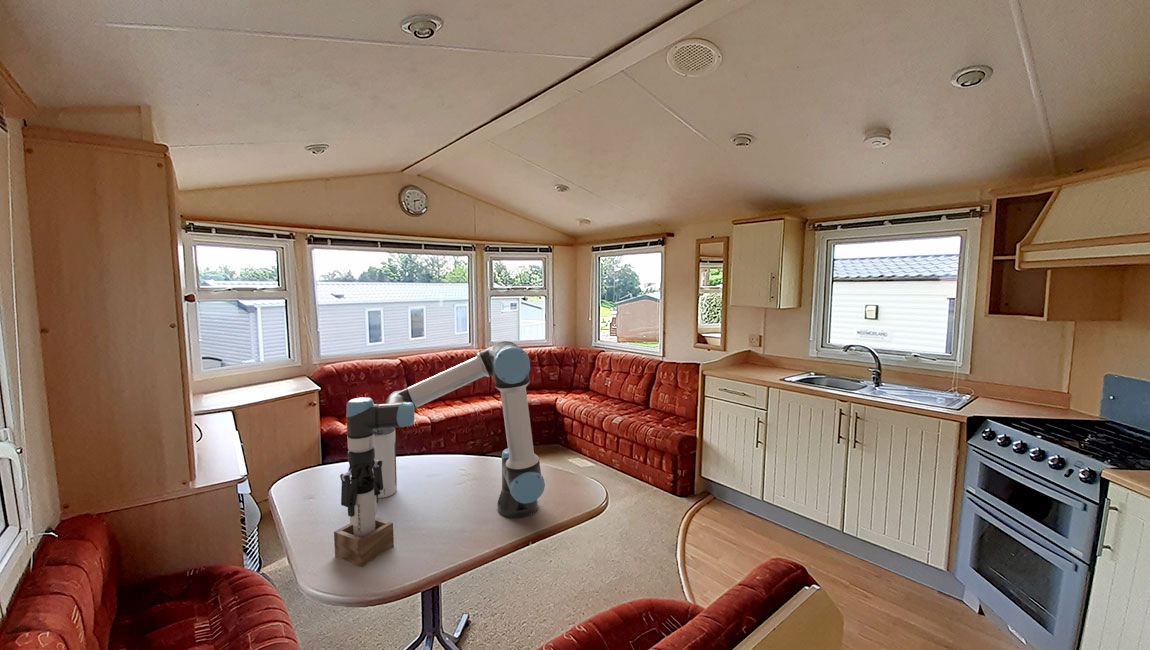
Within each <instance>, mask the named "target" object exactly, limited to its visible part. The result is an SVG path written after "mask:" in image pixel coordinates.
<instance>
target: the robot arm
mask: <svg viewBox="0 0 1150 650" xmlns="http://www.w3.org/2000/svg"><path fill="white" fill-rule="evenodd" d="M530 370H531V362H530V357H529V355H528V354H527V352H526V351H525V350H524V349H523V348H522V347H521V346H518V345H517V344H516V343H514V342H512V341H506V340H505V341H499V342H497V343H495V344H493V345H490V346H489V347H487V348H484V349H483V350H481V351H478V352H477V353H476V355H475V357H472V358H470V359H468V360H466V361H464V362H461V363H459V364H457V365H455V366H453V367H450V368H447V369H446V370H444V371H441V372H439V373H437V374H435V375H433V376H430V377H429V378H426V379H423V380H422V381H419V382H417V383H415V384H413V385H411V386H408V387H406V388H403V389H402V390H395V391H393V392H392V393H390V394H389V395H388V396H387V397H386V400H385V403H374V399H373V398H371V397H356V398H351V399H350V400H348V401H347V402H346V413H345V414H346V415H345V419H346V432H347V433H346V434H347V436H346V438H347V450H348V451H347V461H348V465H349V467H348V471H347V472H345V473H341V474H340V475H339V476H340V481H341V488H340V489H341V492H340V494H341V495H340V497H341V498H340V505H341V506H343V507H345V508H347V515H348V517H349V523H350V524H351V525H354V526H358V505H356V504H355V503H356V499H357V494H358V491H357V486H359V485H360V483H361V482H362V479H363V478H364V477H365V479H368V480H372V479H373V480H374V501H375V517H377V515H378V506H377V505H378V503H379V498H378V495H380V493H381V492H379V491H380V490H383V479H382V469H381V467H382V461H381V460H377V459H375V460H374V458H375V448H374V445H375V442H374V429H379V428H405V427H409V426H413V425H414V423H415V409H417V408H419V407H421V406H423V405H425V404H428V403H430V402H432V401H434V400H436V399H439V398H440V397H443V396H445V395H446V394H449V393H451V392H453V391H456V390H458V389H460V388H463V387H464V386H466V385H469V384H470V383H472V382H475V381H477V380H479V379H481V378H483V377H487V378H490V377H492V376H493V380H494V387H495V389H497V390H498V391H499V392H500V397H501V399H500V400H501V405H502V414H503V419H504V420H503V421H504V428H505V436H506V442H507V448H505V449H504V450H502V453H501V491H500V494H499V497H498V500H497V505H496V506H497V512H498V513H499V515H501V516H504V517H507V518H514V519H515V518H517V519H519V518H524V516H525V517H528V516H530V515H529V514H531V513H532V514H534V513H535V512H536V511H537V510H538V508H537V506H538V505H539V504H538V503H539V502H538V499H539V498H540V497H541V496H542V495H543V494H544V491H545V487H546V482H545V479H544V476H543V475H542V472H541V471H542V469H541V463H540V457H539V456H538V455H537V454H536V453H535V452H534V442H533V434H532V426H531V418H530V409H529V401H528V395H527V387H528V386H529V384H530V382H531V381H530V374H529V373H530ZM372 468H373V471H372ZM373 473H374V474H373ZM373 476H374V477H373ZM357 479H358V480H357ZM536 509H537V510H536ZM535 510H536V511H535ZM534 511H535V512H534ZM533 512H534V513H533ZM532 514H531V515H532ZM527 515H528V516H527Z"/></svg>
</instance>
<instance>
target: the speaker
mask: <svg viewBox="0 0 1150 650" xmlns="http://www.w3.org/2000/svg"><path fill="white" fill-rule="evenodd" d="M374 442H375V445H374V448H375V458H374V460H375V459H377V460H381V461H382V467H381V469H382V479H383V490H380V491H379V492H381V493H380V495H378V499H383V498H388V497H391V496H393V495H395V494H396V493H397V491H398V485H397V483H398V482H397V451H396V450H397V448H396V447H397V446H396V445H397V444H396V443H397V442H396V429H395V427H393V428H379V429H374ZM372 471H373V468H372ZM373 474H374V473H373ZM373 477H374V476H373Z"/></svg>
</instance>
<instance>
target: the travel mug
mask: <svg viewBox="0 0 1150 650" xmlns="http://www.w3.org/2000/svg"><path fill="white" fill-rule="evenodd" d="M357 480H358V479H357ZM357 491H358V494H357V499H356V503H355V504H356V505H358V526H354V525H353V531H354V535H355V536H358V537H360V538H363V537H364V536H366V535H368V534H370V533H371V532H373V531H375V517H376V516H375V501H374V480H373V479H372V480H368V479H365V477H364V478H363V479H362V482H361V483H360V485H359V486H357Z"/></svg>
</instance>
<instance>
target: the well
mask: <svg viewBox="0 0 1150 650" xmlns="http://www.w3.org/2000/svg"><path fill="white" fill-rule="evenodd" d="M394 536H395V535H394V522H392V521H389V520H387V519H383V518H380V517H377V516H375V531H373V532H371V533H370V534H368V535H366V536H364V537H363V538H360V537H358V536H355V535H354V531H353V525H351V524H350V522H349V523H348V524H346V525H344V526H342V527H340V528H339V529H337V530H335V531H333V537H334V538H333V539H334V540H333V541H334V543H333V544H334V557H336V558H338V559H340V560H343V561H345V562H348V563H351V564H353V565H356V566H358V567H361V568H363V567H364V566H366V565H368V564H369V563H371V562H372V561H374V560H375V559H377V558H379V557H380V556H382V555H383V554H384V553H386V552H387V551H389V550H390V549H392V548H393V547H395V542H394V541H395V540H394V539H395V537H394Z"/></svg>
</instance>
